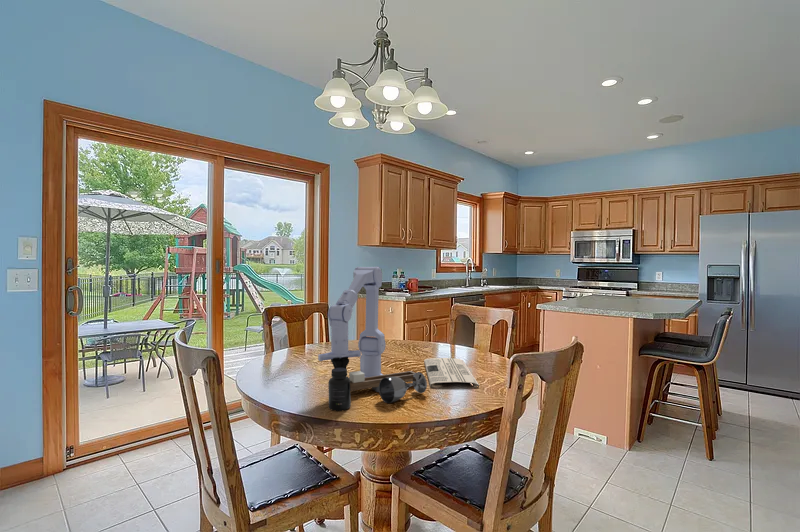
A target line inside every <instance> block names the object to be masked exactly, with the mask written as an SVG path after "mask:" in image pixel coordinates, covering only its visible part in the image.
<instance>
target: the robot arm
mask: <svg viewBox="0 0 800 532" xmlns="http://www.w3.org/2000/svg"><path fill="white" fill-rule="evenodd" d="M352 274H353V275H352V276H353V279H352V281H351V284H350V285H349V287H348V289H345V290H344V291H343V292H342V294H341V295H340V296H339V298H338V300H337V301H336V303H335V304H332V305H330V307H329V308H328V311H327V319H328V322H329V327H330V329H331V333H330V336H331V337H330V339H331V342H330V343H331V348H330V349H331V351H329V352H326V353H321V354H317V358H318V361H319V362H323V361H330V362H331V364H332V366H333V369H334V368H346V369H347V367H348V365H349V364H350V358H354V357H355V358H357V357H358V358H359V363H360V364H359V367H360V368H359V371H361V372H363V373H364V374H365V377H372V376H379V375H384V374H383V373H382V354H383V353H384V352H385V350H386V347H387V346H386V339H385V334H384V332H382V331H381V330H380V329H379V296H380V295H379V292H380V291H379V288H381V287H382V286H383V285H382V284H383V282H382V281H383V271H382V270H381V268H380V267H379V266H356V267H355V268H354V270H353V273H352ZM362 288H364V290H365V329H364V330H363V331H361V332H360V334H359V339H358V343H357V345H358V346H357V347H358V350H357V349H356V350H354V349H353V350H349V322H350V320H351V318H352V313H353V311H354V309H353V308H354V306H355V305H356V303H357V301H358V299H359V298H358V297H359V296H358V294H359V293H360V291H361V289H362Z"/></svg>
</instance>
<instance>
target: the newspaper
mask: <svg viewBox="0 0 800 532" xmlns="http://www.w3.org/2000/svg"><path fill="white" fill-rule="evenodd" d="M423 362H424V367H425V370H426V375H427V379H428V383H429V387H430V388H443V386H442V384H443V383H468V384H469V383H472V384H473V386H474V387H473V388H477V386H478V388H479V387H480V384H479V383H478V381H477V379H476V378H475V376H474V375H473V374H472V372H471V371H470V369H469V367H468V366H467V364H466V363H465V361H464V360H463V359H461V358H453V357H439V358H438V357H436V358H435V357H433V358H431V357H430V358H425V359H424V360H423Z"/></svg>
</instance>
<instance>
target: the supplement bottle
mask: <svg viewBox="0 0 800 532" xmlns="http://www.w3.org/2000/svg"><path fill="white" fill-rule="evenodd" d="M327 385H328V408H329V410H331V409H332V410H331V411H333V410H336V411H335V412H342V410H344V411H347V410H349V409H350V407H351V402H352V401H351V400H352V399H351V396H352V395H351V392H352V391H351V390H350V379H349V376H348V369H347V367H346V368H334V367H333V368H332V369H331V374H330V379H329V380H328V384H327ZM346 409H347V410H346Z"/></svg>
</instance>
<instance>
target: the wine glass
mask: <svg viewBox="0 0 800 532" xmlns="http://www.w3.org/2000/svg"><path fill="white" fill-rule="evenodd" d="M410 387H413V389H414V390H415V392H417V393H418V394H423V393H425V392H426V391H427V388H428V382H427V378H426V376H425V375H424V374H423V373H422V372H419V371H417V372H415V374H414V376H413V381H412V382H405V381H404V380H403V379H401V378H399V377H386V378H383V379H382V380H381V381H380V383H379V392H378V394H379V396H380V398H381V400H382V401H383V402H384V403H386V404H391V403H395V402H397V401H399V400H401V399H402V398H403V397H405V395H406V393H407V390H408V389H409V388H410Z"/></svg>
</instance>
